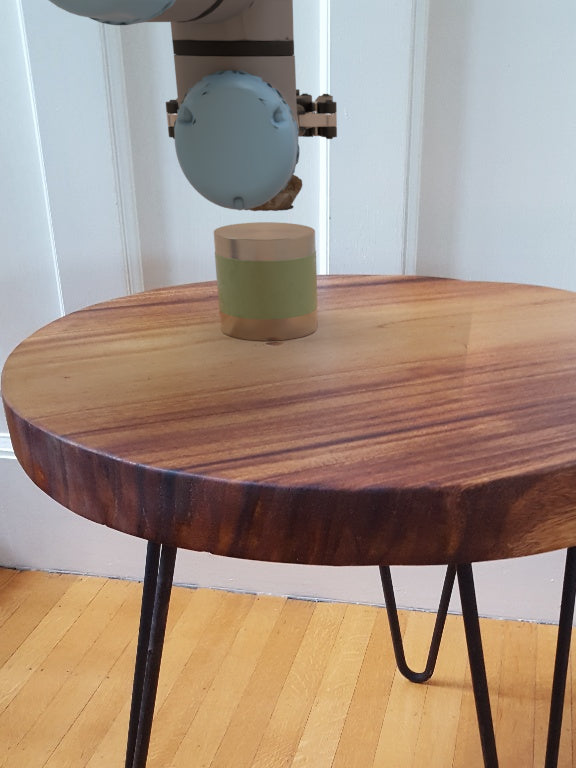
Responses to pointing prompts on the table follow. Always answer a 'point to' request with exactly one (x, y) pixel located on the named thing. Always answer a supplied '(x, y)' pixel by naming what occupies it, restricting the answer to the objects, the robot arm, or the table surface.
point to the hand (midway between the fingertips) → (260, 106)
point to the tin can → (266, 280)
